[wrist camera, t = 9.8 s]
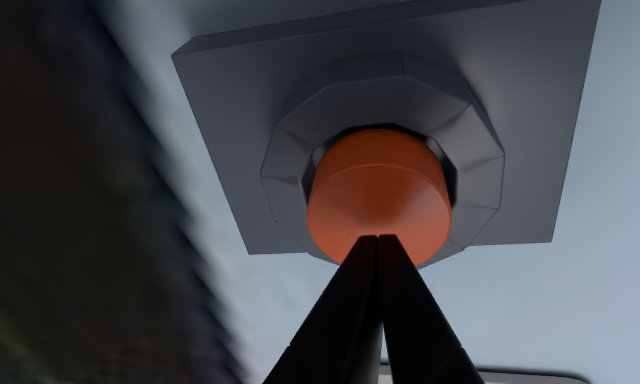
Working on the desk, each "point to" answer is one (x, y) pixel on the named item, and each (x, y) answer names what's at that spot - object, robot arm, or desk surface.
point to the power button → (379, 194)
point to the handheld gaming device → (496, 378)
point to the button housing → (397, 109)
